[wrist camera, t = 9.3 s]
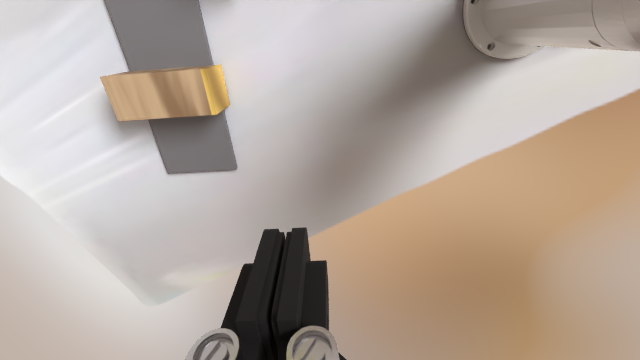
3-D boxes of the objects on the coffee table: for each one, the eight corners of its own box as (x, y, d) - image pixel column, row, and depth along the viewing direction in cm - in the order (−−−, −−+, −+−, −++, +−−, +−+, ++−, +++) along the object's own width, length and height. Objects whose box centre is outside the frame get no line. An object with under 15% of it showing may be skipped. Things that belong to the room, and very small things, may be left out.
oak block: (205, 68, 30) (99, 77, 31) (216, 114, 32) (118, 121, 33) (220, 64, 34) (128, 71, 35) (229, 105, 37) (142, 110, 37)
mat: (191, -28, 31) (189, -29, 30) (237, 167, 42) (236, 169, 41) (101, -19, 31) (97, -20, 31) (170, 171, 42) (168, 173, 42)
